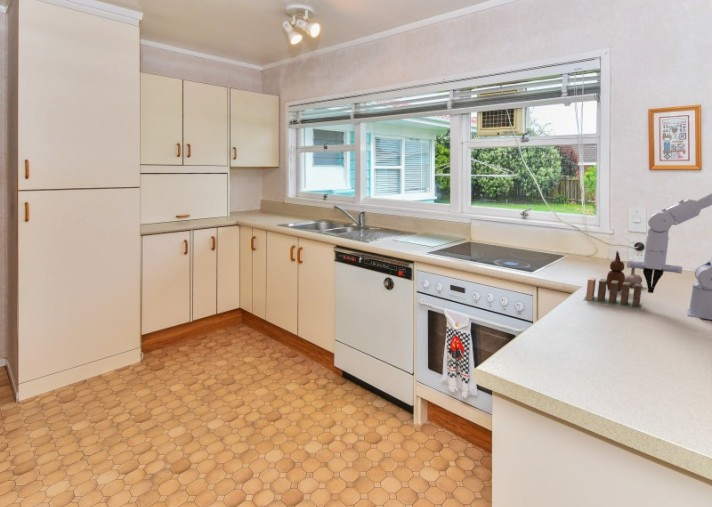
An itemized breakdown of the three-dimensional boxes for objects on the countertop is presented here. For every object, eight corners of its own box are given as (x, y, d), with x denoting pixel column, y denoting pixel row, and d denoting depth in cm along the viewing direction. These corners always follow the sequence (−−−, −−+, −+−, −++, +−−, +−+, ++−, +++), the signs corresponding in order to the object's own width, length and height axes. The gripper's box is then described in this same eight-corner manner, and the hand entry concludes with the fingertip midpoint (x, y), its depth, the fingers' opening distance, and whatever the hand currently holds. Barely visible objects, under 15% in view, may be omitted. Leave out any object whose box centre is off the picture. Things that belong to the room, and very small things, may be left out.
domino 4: (639, 304, 144) (642, 284, 142) (638, 307, 140) (641, 286, 139) (633, 303, 145) (635, 283, 143) (631, 306, 141) (634, 285, 140)
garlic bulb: (641, 289, 166) (644, 268, 165) (619, 286, 170) (622, 266, 168) (640, 285, 172) (643, 265, 171) (619, 282, 176) (621, 263, 175)
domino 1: (604, 299, 150) (607, 279, 148) (602, 302, 146) (605, 281, 145) (599, 298, 151) (601, 278, 150) (596, 301, 147) (599, 281, 146)
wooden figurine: (606, 287, 168) (610, 249, 165) (624, 289, 164) (628, 250, 162) (604, 291, 162) (608, 251, 160) (622, 293, 159) (627, 253, 156)
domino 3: (627, 302, 146) (630, 282, 144) (626, 305, 142) (628, 284, 141) (621, 301, 147) (624, 281, 145) (620, 304, 143) (622, 284, 142)
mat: (642, 304, 145) (642, 303, 145) (640, 310, 138) (640, 309, 138) (587, 296, 155) (587, 295, 154) (582, 301, 148) (582, 300, 148)
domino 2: (616, 300, 148) (618, 281, 146) (614, 303, 144) (616, 283, 143) (610, 300, 149) (612, 280, 147) (608, 302, 145) (610, 282, 144)
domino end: (593, 297, 152) (595, 278, 150) (591, 300, 148) (593, 280, 147) (588, 296, 153) (590, 277, 152) (585, 299, 149) (587, 279, 148)
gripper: (684, 251, 136) (678, 293, 138) (630, 246, 145) (625, 286, 147) (684, 254, 130) (678, 298, 133) (628, 249, 139) (623, 290, 141)
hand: (650, 292), depth 139 cm, fingers closed
